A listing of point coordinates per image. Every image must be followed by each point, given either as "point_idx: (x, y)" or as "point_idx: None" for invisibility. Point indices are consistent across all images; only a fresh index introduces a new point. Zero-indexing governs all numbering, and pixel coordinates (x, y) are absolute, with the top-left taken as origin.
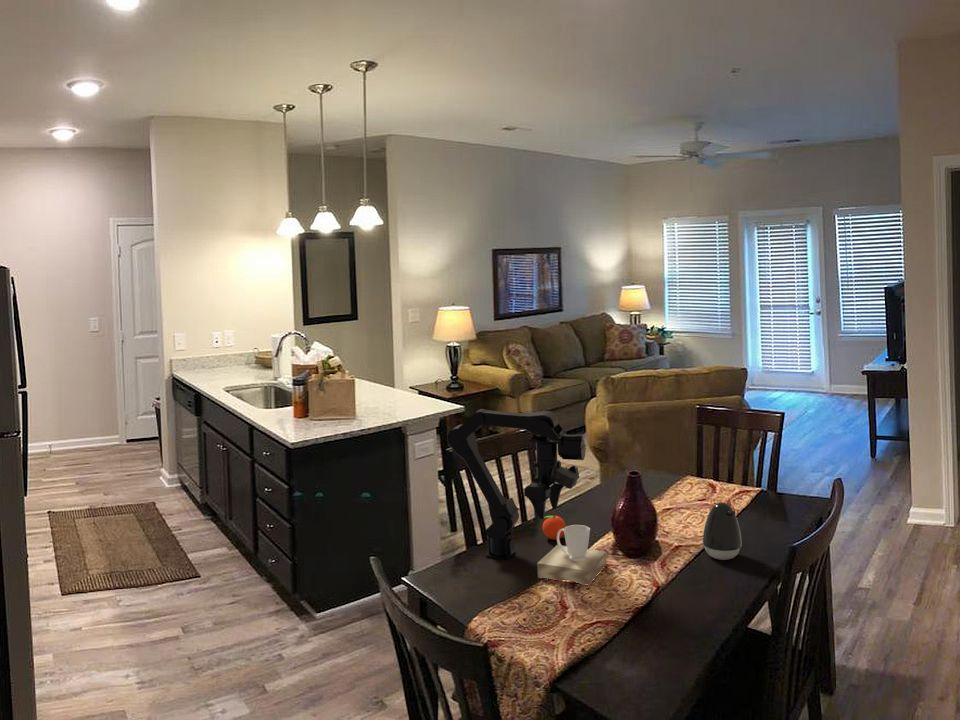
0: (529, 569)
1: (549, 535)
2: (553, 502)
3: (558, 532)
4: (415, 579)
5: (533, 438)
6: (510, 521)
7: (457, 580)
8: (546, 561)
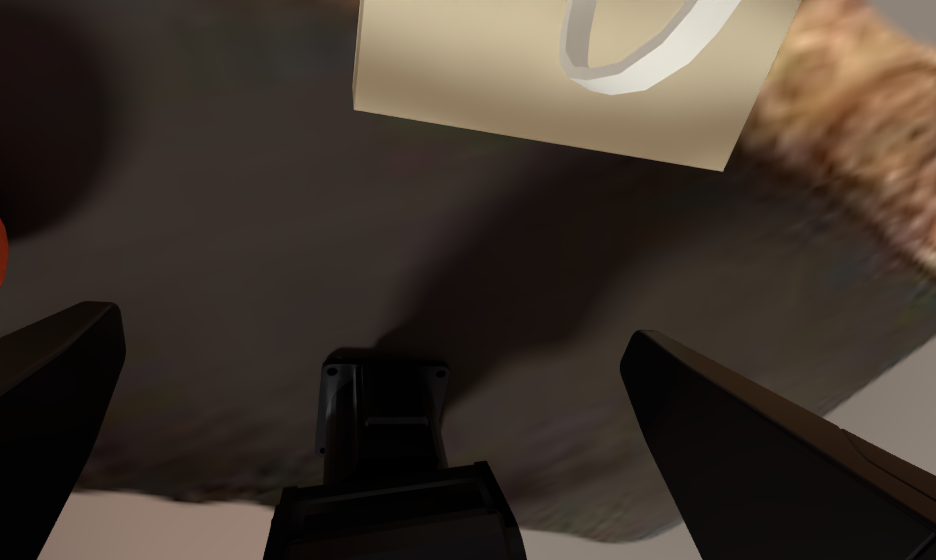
0: (553, 218)
1: (6, 245)
2: (70, 426)
3: (654, 78)
4: (658, 528)
5: None
6: (508, 542)
7: None
8: (701, 116)
